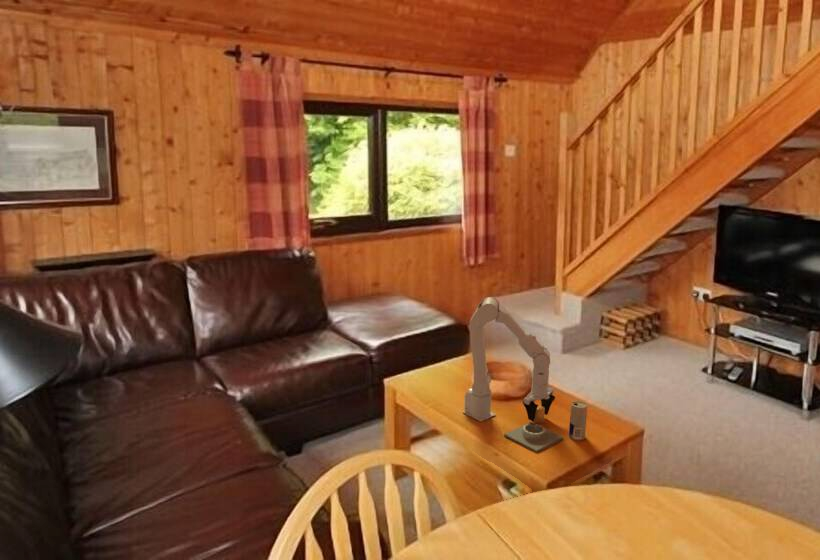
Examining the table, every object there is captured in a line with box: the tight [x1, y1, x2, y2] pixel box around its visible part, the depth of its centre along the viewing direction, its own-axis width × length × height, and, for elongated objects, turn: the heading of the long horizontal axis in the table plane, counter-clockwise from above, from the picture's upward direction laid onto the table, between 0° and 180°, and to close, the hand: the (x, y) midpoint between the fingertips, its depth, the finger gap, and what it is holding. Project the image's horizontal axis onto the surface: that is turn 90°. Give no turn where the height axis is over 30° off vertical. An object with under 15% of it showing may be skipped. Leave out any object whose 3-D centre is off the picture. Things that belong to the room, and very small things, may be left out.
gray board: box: [503, 421, 564, 453], centre depth 202 cm, size 14×14×1 cm
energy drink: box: [568, 401, 588, 441], centre depth 201 cm, size 5×5×12 cm
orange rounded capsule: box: [531, 404, 545, 424], centre depth 214 cm, size 4×4×5 cm
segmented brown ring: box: [522, 422, 546, 441], centre depth 202 cm, size 7×7×2 cm
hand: (537, 416), depth 214 cm, fingers open, 7 cm apart
